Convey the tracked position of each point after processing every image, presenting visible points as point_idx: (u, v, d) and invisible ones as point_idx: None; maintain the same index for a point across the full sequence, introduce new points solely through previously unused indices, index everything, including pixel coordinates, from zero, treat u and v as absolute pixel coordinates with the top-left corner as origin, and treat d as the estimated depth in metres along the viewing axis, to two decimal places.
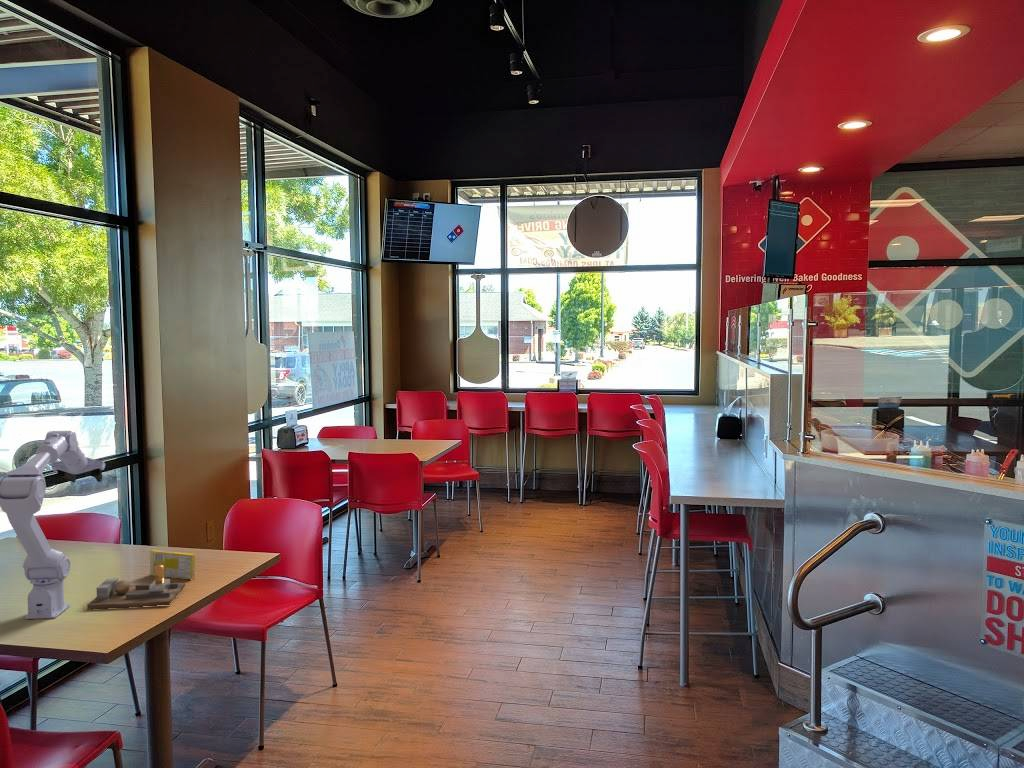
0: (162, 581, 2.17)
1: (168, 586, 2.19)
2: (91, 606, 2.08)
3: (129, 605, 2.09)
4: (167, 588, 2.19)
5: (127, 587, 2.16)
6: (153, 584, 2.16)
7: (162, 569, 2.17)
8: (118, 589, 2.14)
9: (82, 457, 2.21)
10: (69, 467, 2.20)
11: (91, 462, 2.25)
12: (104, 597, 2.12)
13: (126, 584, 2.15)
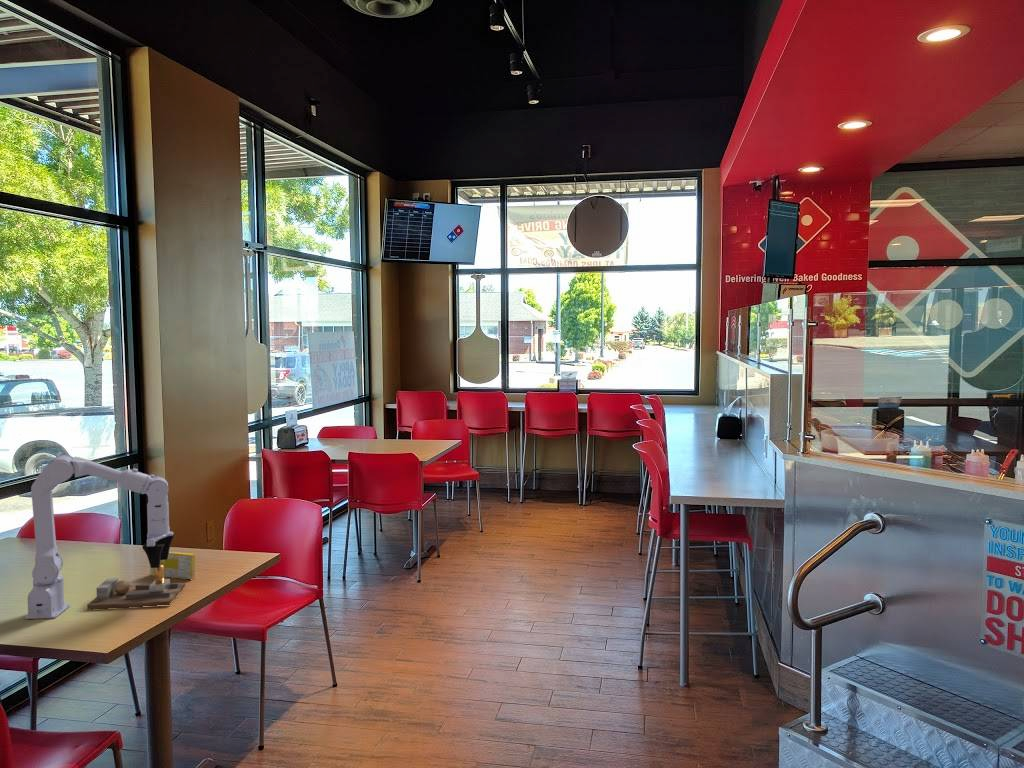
0: (162, 581, 2.17)
1: (168, 586, 2.19)
2: (91, 606, 2.08)
3: (129, 605, 2.09)
4: (167, 588, 2.19)
5: (127, 587, 2.16)
6: (153, 584, 2.16)
7: (162, 569, 2.17)
8: (118, 589, 2.14)
9: (154, 521, 2.13)
10: None
11: None
12: (104, 597, 2.12)
13: (126, 584, 2.15)
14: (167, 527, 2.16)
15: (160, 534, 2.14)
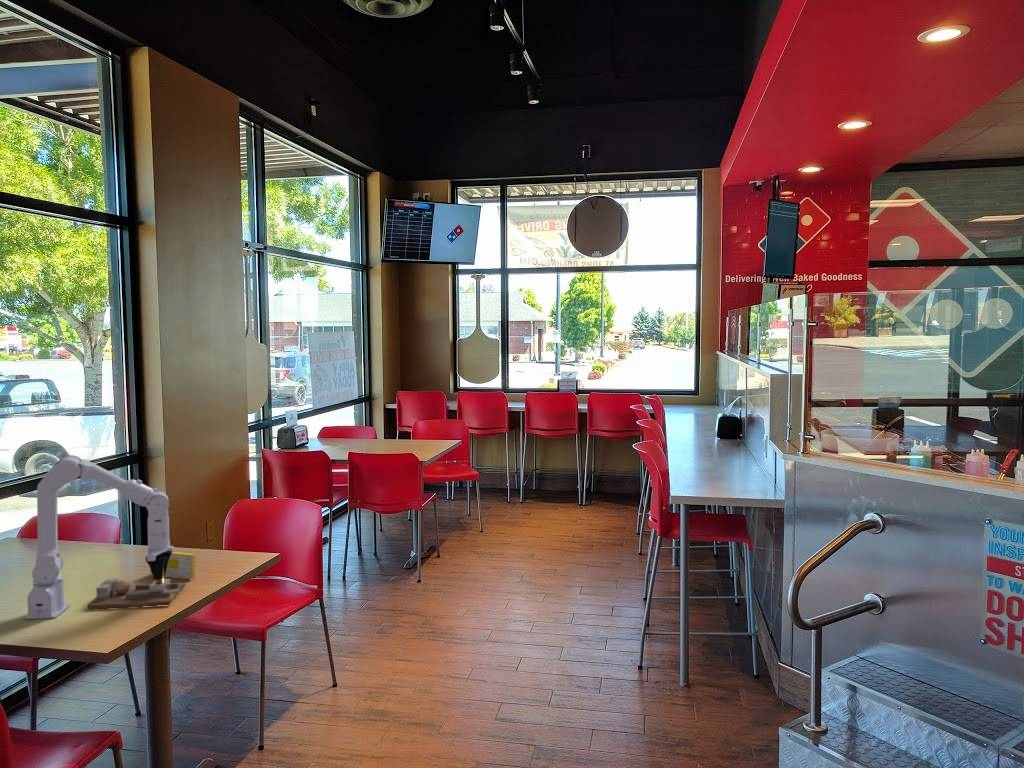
0: (162, 581, 2.17)
1: (168, 586, 2.19)
2: (91, 606, 2.08)
3: (129, 605, 2.09)
4: (167, 588, 2.19)
5: (127, 587, 2.16)
6: (153, 584, 2.16)
7: None
8: (118, 589, 2.14)
9: (154, 536, 2.14)
10: None
11: None
12: (104, 597, 2.12)
13: (126, 584, 2.15)
14: (167, 541, 2.17)
15: (160, 549, 2.15)
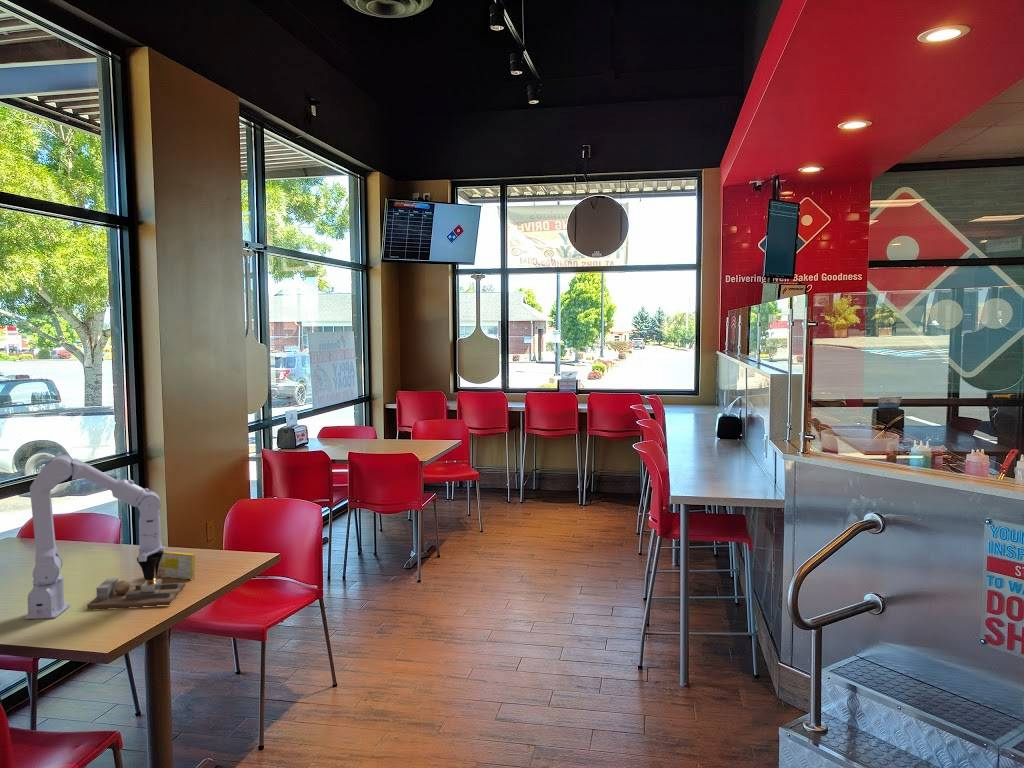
0: (154, 581, 2.17)
1: (160, 586, 2.19)
2: (91, 606, 2.08)
3: (129, 605, 2.09)
4: (159, 588, 2.18)
5: (127, 587, 2.16)
6: (144, 584, 2.15)
7: None
8: (118, 589, 2.14)
9: (146, 536, 2.13)
10: None
11: None
12: (104, 597, 2.12)
13: (126, 584, 2.15)
14: (159, 542, 2.16)
15: (152, 549, 2.14)
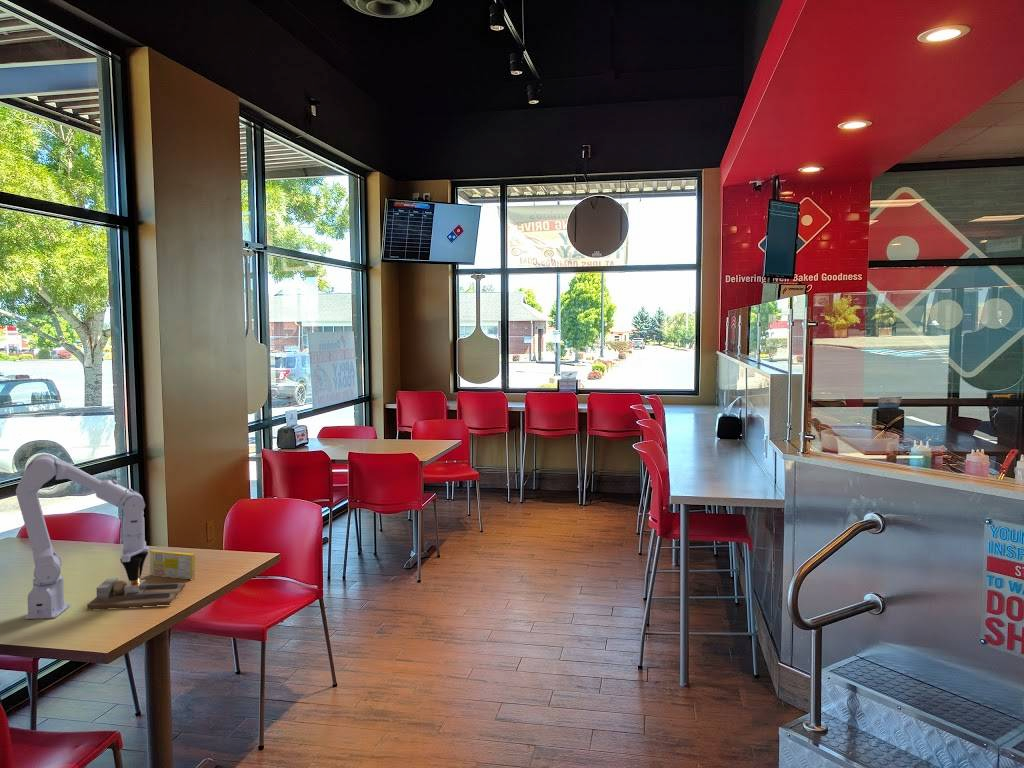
0: (138, 582, 2.16)
1: (144, 587, 2.18)
2: (91, 606, 2.08)
3: (129, 605, 2.09)
4: (143, 589, 2.18)
5: None
6: (128, 585, 2.15)
7: None
8: (116, 590, 2.14)
9: (129, 536, 2.13)
10: None
11: (133, 553, 2.12)
12: (104, 597, 2.12)
13: (123, 583, 2.15)
14: (143, 542, 2.15)
15: (135, 549, 2.13)
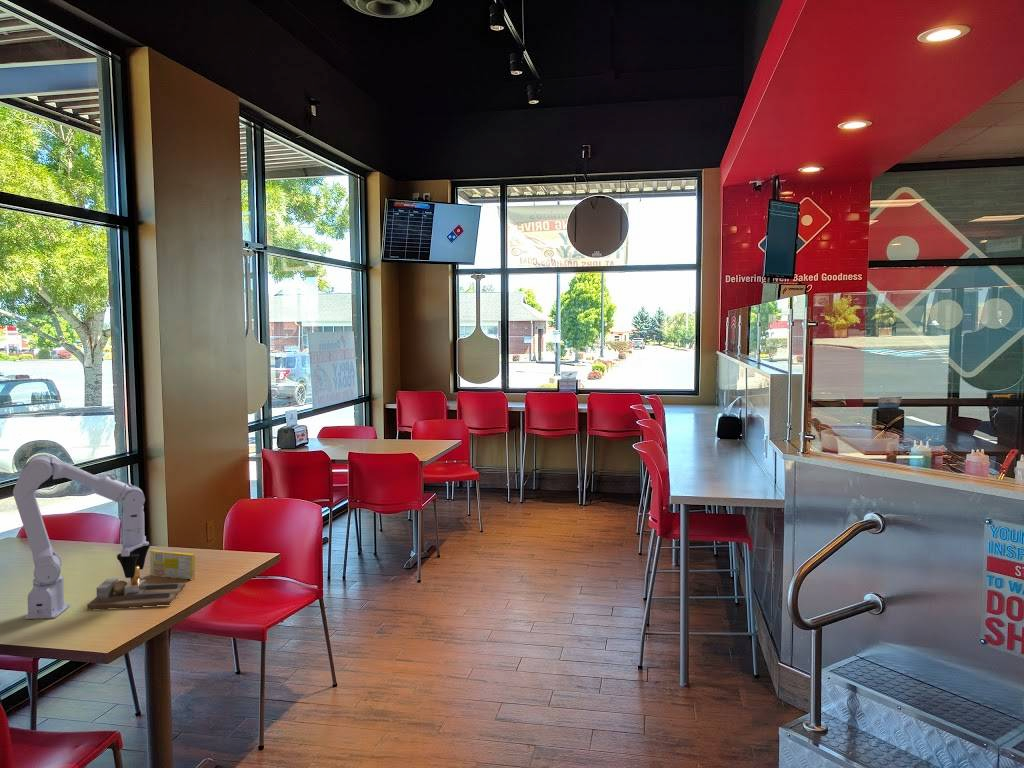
0: (138, 582, 2.16)
1: (144, 587, 2.18)
2: (91, 606, 2.08)
3: (129, 605, 2.09)
4: (143, 589, 2.18)
5: None
6: (128, 585, 2.15)
7: (137, 570, 2.16)
8: (116, 590, 2.14)
9: (129, 531, 2.13)
10: None
11: None
12: (104, 597, 2.12)
13: (123, 583, 2.15)
14: (142, 537, 2.15)
15: (135, 544, 2.13)
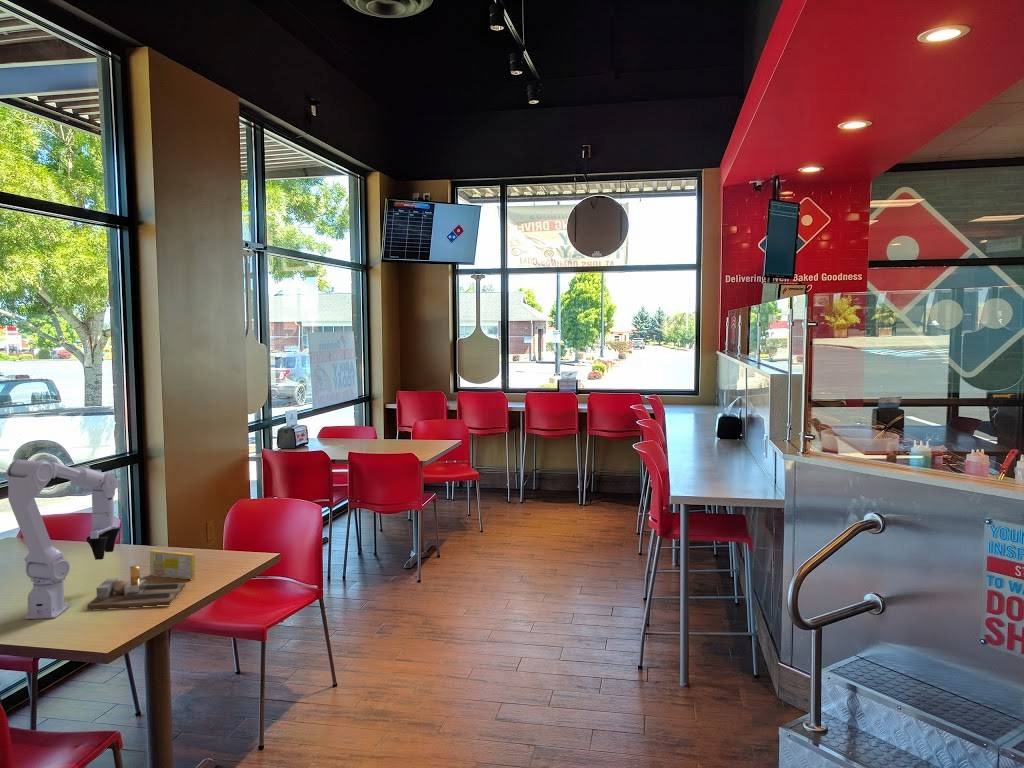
0: (138, 582, 2.16)
1: (144, 587, 2.18)
2: (91, 606, 2.08)
3: (129, 605, 2.09)
4: (143, 589, 2.18)
5: None
6: (128, 585, 2.15)
7: (137, 570, 2.16)
8: (117, 590, 2.14)
9: (98, 514, 2.21)
10: None
11: None
12: (104, 597, 2.12)
13: (124, 583, 2.15)
14: (112, 520, 2.23)
15: (104, 527, 2.21)
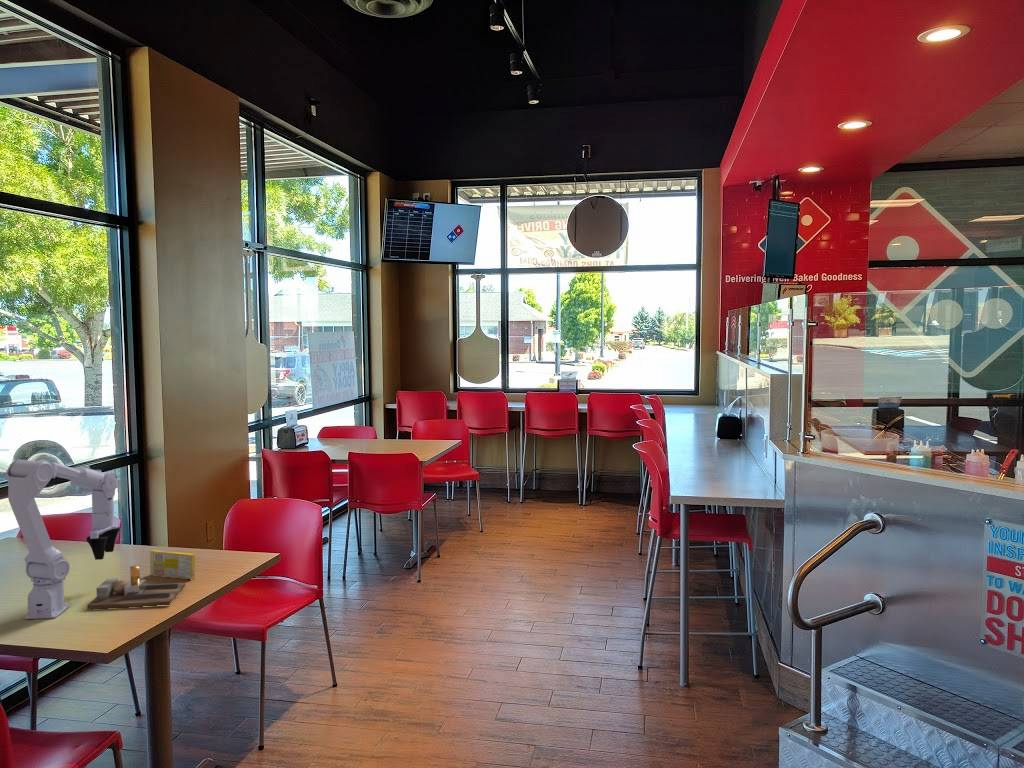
0: (138, 582, 2.16)
1: (144, 587, 2.18)
2: (91, 606, 2.08)
3: (129, 605, 2.09)
4: (143, 589, 2.18)
5: None
6: (128, 585, 2.15)
7: (137, 570, 2.16)
8: (117, 590, 2.14)
9: (98, 514, 2.21)
10: None
11: None
12: (104, 597, 2.12)
13: (124, 583, 2.15)
14: (112, 520, 2.23)
15: (104, 527, 2.21)
